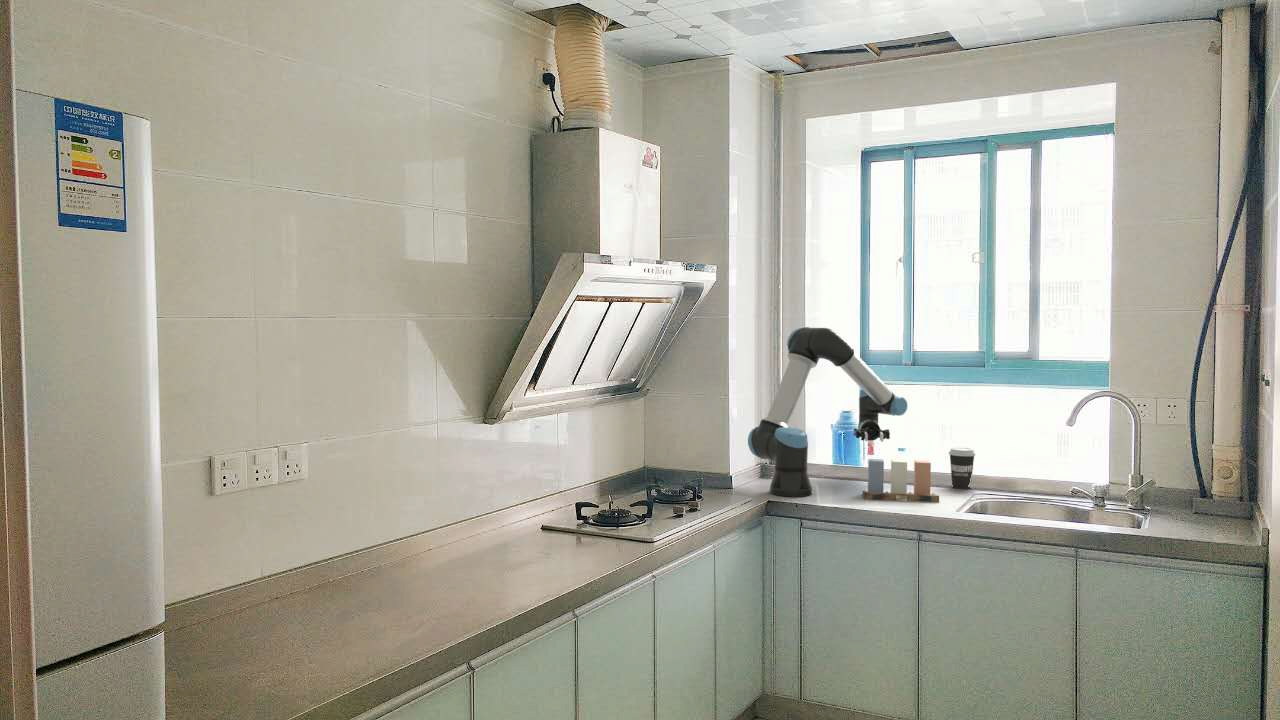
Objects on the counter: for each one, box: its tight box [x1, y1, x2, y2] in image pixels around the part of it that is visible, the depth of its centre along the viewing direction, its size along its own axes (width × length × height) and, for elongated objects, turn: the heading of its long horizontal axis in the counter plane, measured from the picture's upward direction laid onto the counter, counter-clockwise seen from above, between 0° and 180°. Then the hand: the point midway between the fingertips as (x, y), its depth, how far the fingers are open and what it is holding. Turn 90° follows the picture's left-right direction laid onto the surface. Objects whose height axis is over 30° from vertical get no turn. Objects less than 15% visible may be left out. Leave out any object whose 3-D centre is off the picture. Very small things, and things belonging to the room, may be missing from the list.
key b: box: [890, 459, 908, 494], centre depth 322 cm, size 5×5×12 cm
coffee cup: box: [948, 446, 976, 489], centre depth 340 cm, size 10×10×15 cm
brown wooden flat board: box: [861, 490, 940, 503], centre depth 320 cm, size 25×15×3 cm, turn 79°
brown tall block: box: [913, 459, 932, 495], centre depth 321 cm, size 5×5×12 cm
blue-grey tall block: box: [867, 458, 885, 493], centre depth 323 cm, size 5×5×12 cm
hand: (874, 437), depth 332 cm, fingers open, 5 cm apart
